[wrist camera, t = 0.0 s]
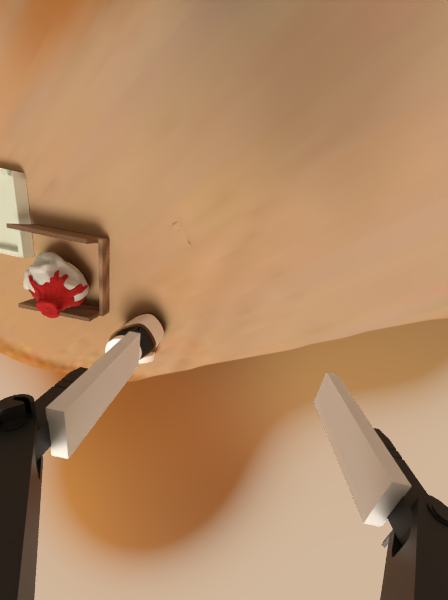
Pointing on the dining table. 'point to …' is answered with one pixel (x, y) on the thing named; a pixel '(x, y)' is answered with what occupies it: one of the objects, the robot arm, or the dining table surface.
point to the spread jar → (141, 335)
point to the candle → (55, 284)
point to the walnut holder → (90, 311)
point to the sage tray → (14, 214)
